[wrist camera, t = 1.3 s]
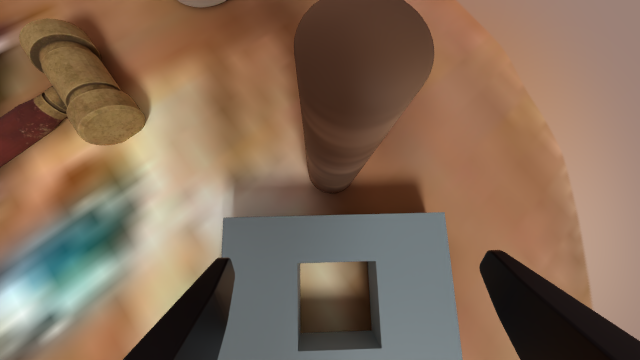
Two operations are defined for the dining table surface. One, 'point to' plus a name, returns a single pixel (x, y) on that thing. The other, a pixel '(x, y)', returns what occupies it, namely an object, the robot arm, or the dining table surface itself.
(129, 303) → the dining table surface
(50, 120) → the gavel
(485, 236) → the dining table surface
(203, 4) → the travel mug
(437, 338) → the socket board
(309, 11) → the peg
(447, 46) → the dining table surface
